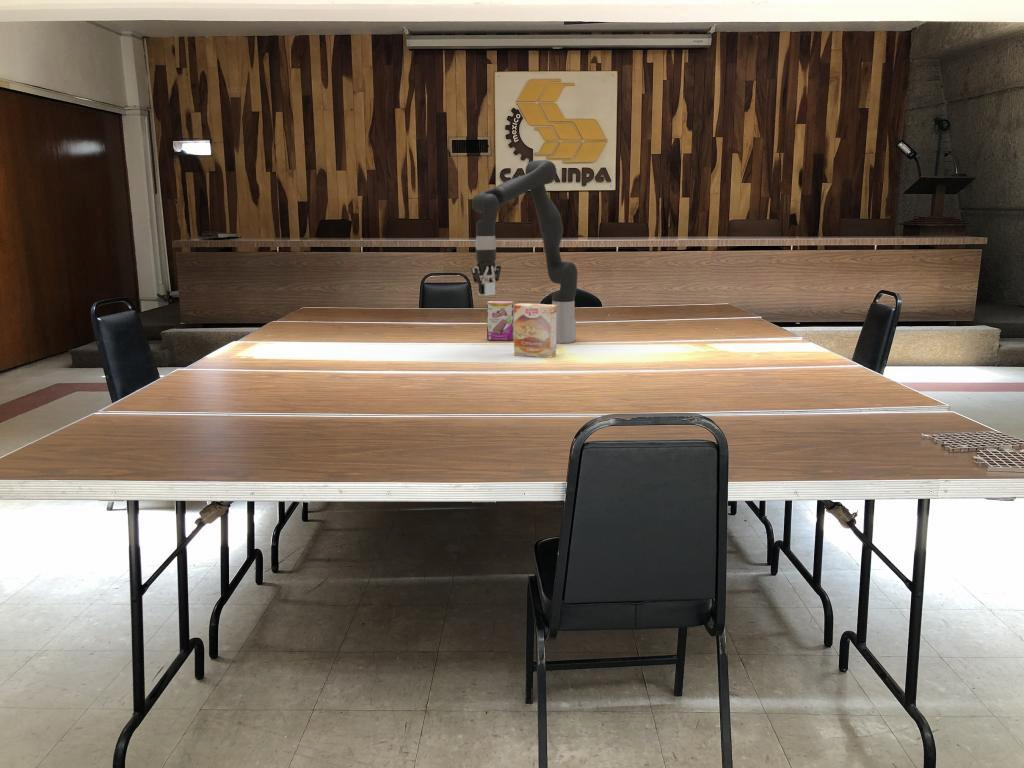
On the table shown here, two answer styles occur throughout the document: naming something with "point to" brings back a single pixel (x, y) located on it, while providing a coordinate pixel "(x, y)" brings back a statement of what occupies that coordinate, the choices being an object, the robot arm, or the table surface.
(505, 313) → the candy bar box
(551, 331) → the coffeecake box
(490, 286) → the blue-grey cube
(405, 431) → the table surface
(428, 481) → the table surface
